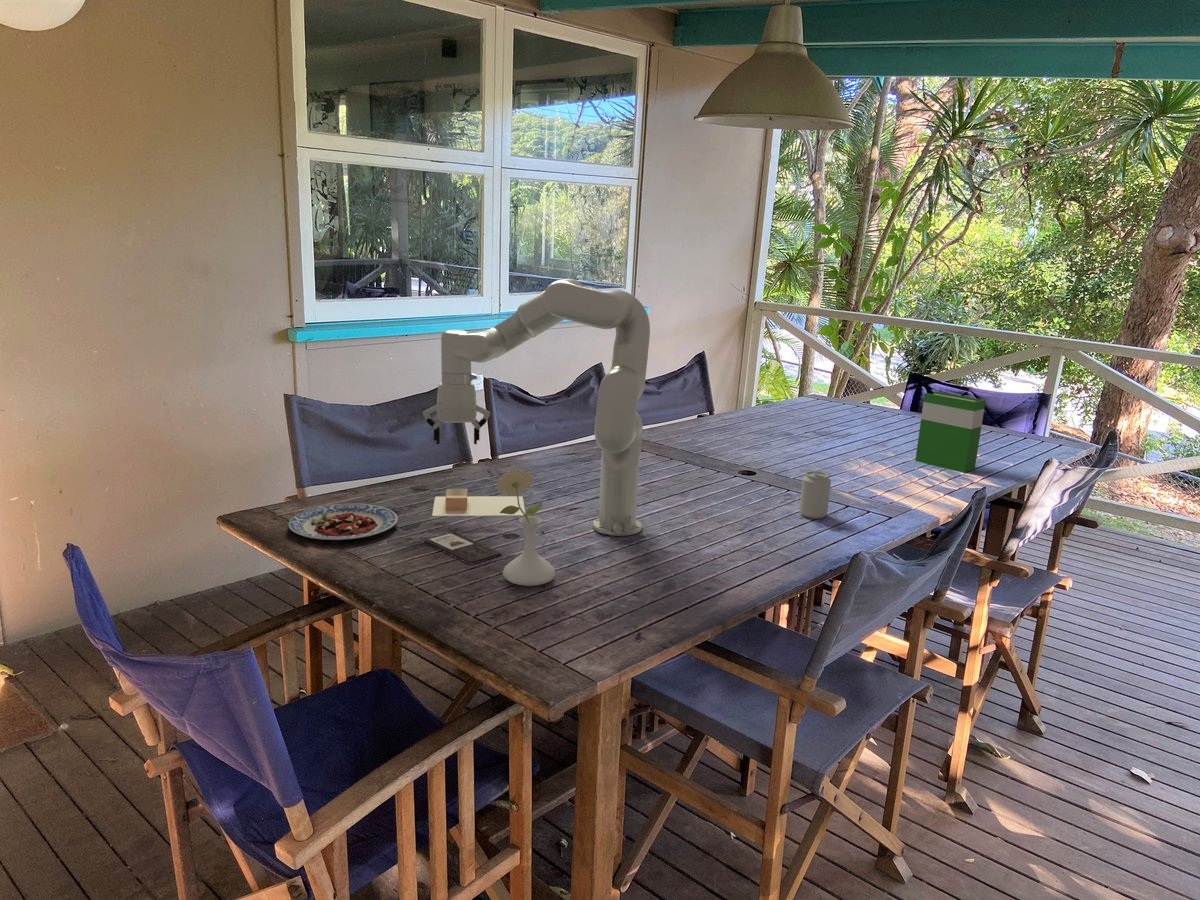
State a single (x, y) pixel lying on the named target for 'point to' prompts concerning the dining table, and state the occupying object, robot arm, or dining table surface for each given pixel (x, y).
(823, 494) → the can
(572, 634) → the dining table surface
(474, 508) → the mat
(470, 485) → the dining table surface
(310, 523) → the ceramic plate
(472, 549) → the chocolate bar
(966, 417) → the green cereal box
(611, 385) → the robot arm
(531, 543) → the flower in vase
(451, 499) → the orange-brown block
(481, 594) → the dining table surface
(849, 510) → the dining table surface
